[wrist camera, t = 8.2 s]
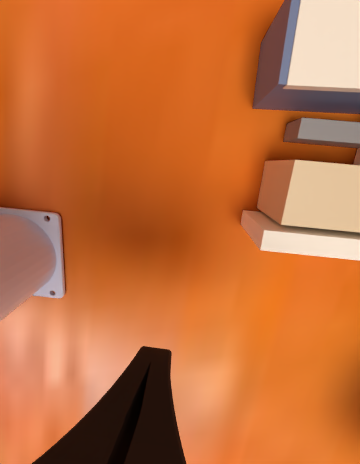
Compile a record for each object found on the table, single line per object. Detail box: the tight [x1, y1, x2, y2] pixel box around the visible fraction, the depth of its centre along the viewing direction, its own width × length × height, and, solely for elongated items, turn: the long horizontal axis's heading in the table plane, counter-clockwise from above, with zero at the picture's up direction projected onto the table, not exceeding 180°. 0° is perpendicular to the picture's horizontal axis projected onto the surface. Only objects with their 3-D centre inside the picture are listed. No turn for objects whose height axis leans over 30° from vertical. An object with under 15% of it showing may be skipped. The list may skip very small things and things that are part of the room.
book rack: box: [241, 118, 360, 260], centre depth 14 cm, size 9×19×6 cm, turn 175°
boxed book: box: [253, 0, 360, 114], centre depth 14 cm, size 8×4×6 cm, turn 87°
